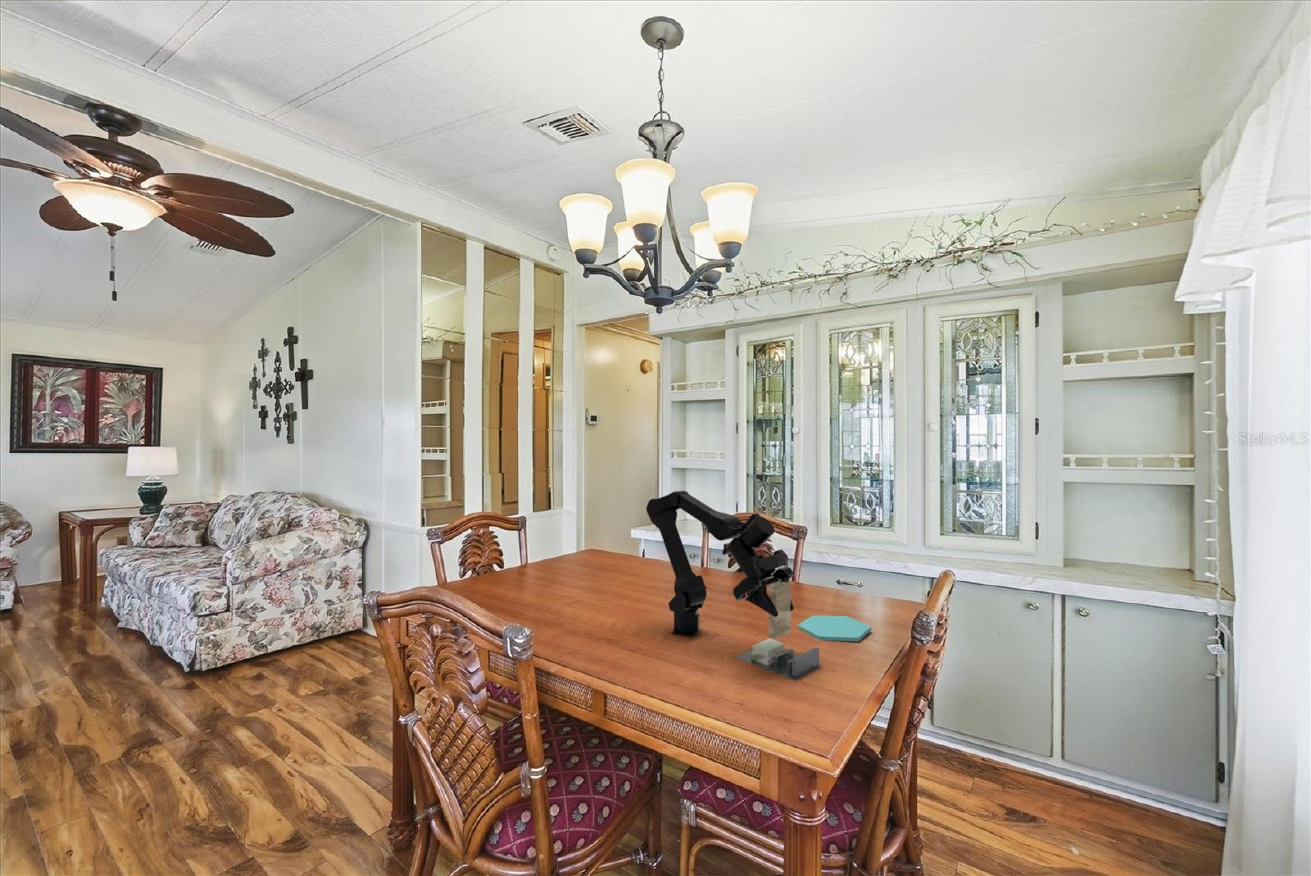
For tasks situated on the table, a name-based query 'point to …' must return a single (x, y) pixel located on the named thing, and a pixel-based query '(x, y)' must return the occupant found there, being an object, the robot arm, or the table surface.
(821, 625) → the plaque
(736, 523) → the robot arm
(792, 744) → the table surface
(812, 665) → the offcut rack
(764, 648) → the offcut upper
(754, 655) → the offcut lower
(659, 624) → the table surface
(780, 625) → the birch block
